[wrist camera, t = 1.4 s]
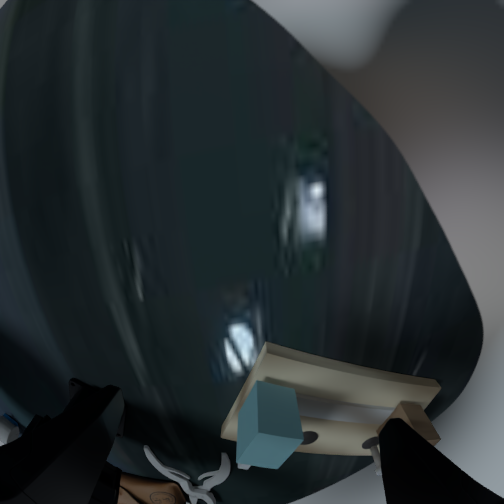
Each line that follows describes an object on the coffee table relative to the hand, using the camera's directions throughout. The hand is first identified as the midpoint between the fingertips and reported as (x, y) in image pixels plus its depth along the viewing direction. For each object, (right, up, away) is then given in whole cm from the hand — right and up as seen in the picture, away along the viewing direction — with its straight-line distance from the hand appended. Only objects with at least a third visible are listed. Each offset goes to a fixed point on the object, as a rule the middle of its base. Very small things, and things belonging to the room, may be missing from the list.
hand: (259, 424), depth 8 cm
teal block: (0, -7, +12) cm, 14 cm away
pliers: (-7, -23, +20) cm, 31 cm away
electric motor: (-40, -22, +19) cm, 49 cm away
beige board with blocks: (+8, -10, +15) cm, 20 cm away
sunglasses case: (-19, -28, +21) cm, 40 cm away
